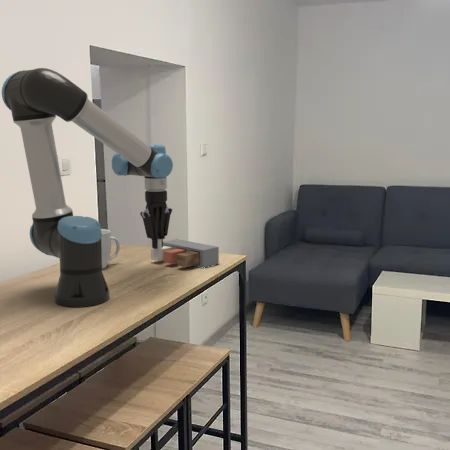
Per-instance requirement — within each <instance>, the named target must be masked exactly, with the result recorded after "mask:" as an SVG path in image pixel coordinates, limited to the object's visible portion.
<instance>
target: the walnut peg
mask: <svg viewBox="0 0 450 450" xmlns="http://www.w3.org/2000/svg"><path fill="white" fill-rule="evenodd" d="M176 264H177V266H179V267H182V268H189V267H194V266H193V265H197V264H200V252H198V251H190V252H186V253H181V254H177V263H176Z"/></svg>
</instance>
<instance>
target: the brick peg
mask: <svg viewBox="0 0 450 450" xmlns="http://www.w3.org/2000/svg"><path fill="white" fill-rule="evenodd" d="M181 253H186V249H183V248H178V249H173V250H168V251H164V260H163V263H164V264H165V263H166V264H169V265H174V264H177V254H181Z"/></svg>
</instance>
